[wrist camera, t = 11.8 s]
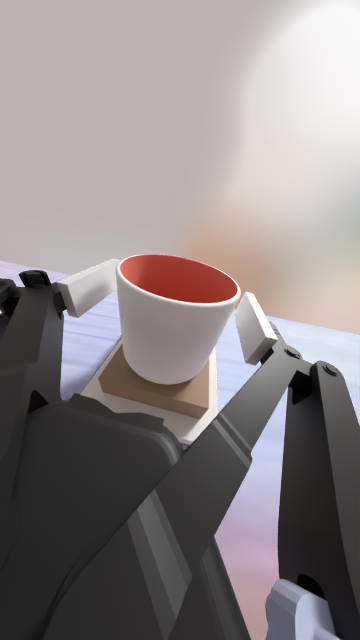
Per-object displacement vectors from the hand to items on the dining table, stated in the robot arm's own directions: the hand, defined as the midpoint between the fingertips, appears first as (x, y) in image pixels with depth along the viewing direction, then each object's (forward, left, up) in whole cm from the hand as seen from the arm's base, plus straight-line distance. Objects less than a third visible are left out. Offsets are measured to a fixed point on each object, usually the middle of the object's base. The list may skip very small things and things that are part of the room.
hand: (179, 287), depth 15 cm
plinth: (0, +2, -12) cm, 12 cm away
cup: (0, +2, -8) cm, 8 cm away
